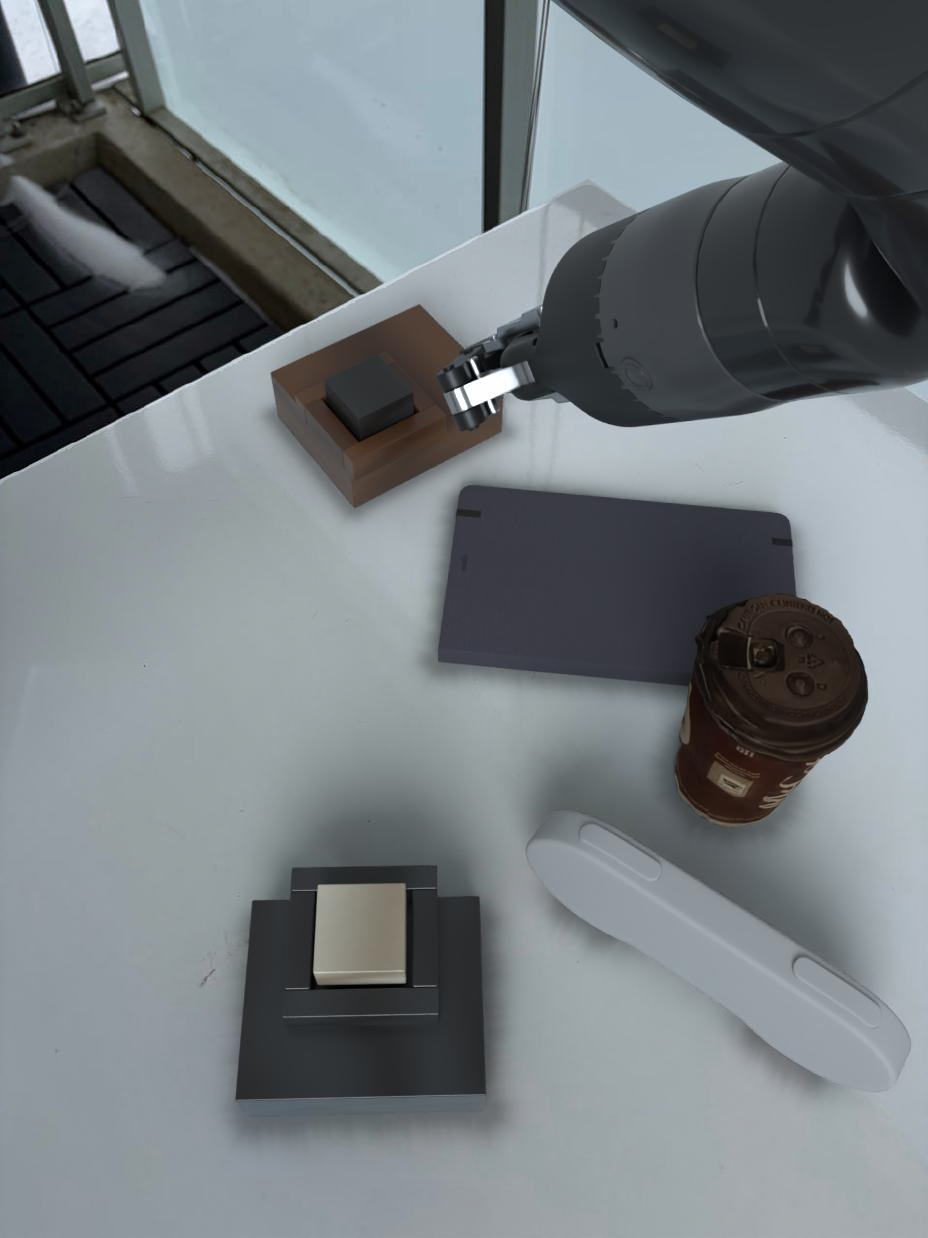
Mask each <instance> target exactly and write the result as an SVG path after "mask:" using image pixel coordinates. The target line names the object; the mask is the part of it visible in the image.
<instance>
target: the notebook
mask: <svg viewBox="0 0 928 1238" xmlns="http://www.w3.org/2000/svg"><path fill="white" fill-rule="evenodd" d="M455 513H456V514H455V523H454V530H453V536H452V545H451V551H450V560H449V567H448V575H447V582H446V589H445V595H444V604H443V611H442V617H441V618H442V619H441V625H440V633H439V641H438V646H437V661H438V662H439V663H446V664H454V665H455V664H456V665H467V666H477V667H487V668H498V669H506V670H507V669H508V670H517V671H528V672H538V673H547V674H548V673H549V674H559V675H570V676H580V677H581V676H582V677H588V678H589V677H590V678H598V679H599V678H601V679H608V680H609V679H610V680H619V681H621V680H622V681H631V682H640V683H650V684H651V683H652V684H661V685H672V686H680V687H681V686H682V687H689V684H690V680H691V676H692V671H693V667H694V661H695V659H696V656H697V644H696V642H695V637H696V636H697V635H698V634H700V632H701V629H702V628H703V625H704V623H705V622H706V621H707V619H706V616H708V615H711V614H713V613H714V612H715V611H717V610H719V609H721V608H723V607H725V606H728V605H730V604H733V603H738V602H742V601H745V600H748V599H750V598H752V597H754V598H757V597H760V595H762V596H764V595H770V596H773V595H775V594H776V593H784V594H789V595H794V596H796V597H797V586H796V575H795V563H794V550H793V548H794V545H793V544H794V543H793V537H792V527H791V522H790V520H789V518H788V517H787V516H786V515H784V513H780V512H775V511H765V510H754V509H753V510H752V509H743V508H731V507H721V506H709V505H699V504H698V505H697V504H689V503H688V504H686V503H675V502H667V501H666V502H664V501H655V500H646V499H645V500H644V499H632V498H620V497H611V496H599V495H589V494H577V493H566V492H554V491H544V490H534V489H533V490H532V489H523V488H511V487H501V486H500V487H499V486H489V485H479V484H472V485H471V484H470V485H469V484H468V485H466V486H464V487H462V489H460V491H459V495H458V501H457V508H456V511H455Z"/></svg>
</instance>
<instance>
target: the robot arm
mask: <svg viewBox="0 0 928 1238" xmlns="http://www.w3.org/2000/svg"><path fill="white" fill-rule="evenodd" d="M550 1H551V2H552V3H554V4H555V5H556V6H557V7H559V8H560V9H562V10H563V11H564V12H565V13H566V14H567V15H569V16H570V17H572V18H573V19H574V20H575V21H576V22H578V23H579V24H580V25H582V27H584V28H585V29H587V30H588V31H589V32H590V33H592V34H593V35H594V36H595V37H597V38H598V39H599V40H601V41H602V42H603V43H605V44H606V45H607V46H608V47H610V48H611V49H612V50H614V51H615V52H617V53H618V54H619V55H621V56H622V58H625V59H626V60H627V61H629V62H630V63H631V64H633V65H634V66H635V67H637V68H638V69H639V70H641V71H642V72H643V73H645V74H647V76H649V77H651V78H652V79H654V80H655V81H657V82H658V83H659V84H661V85H662V86H664V87H665V88H667V89H668V90H669V91H671V92H673V93H674V94H675V95H677V96H678V97H680V98H681V99H682V100H683V101H686V102H687V103H688V104H691V105H692V106H694V107H695V108H697V109H698V110H700V111H702V112H704V113H705V114H706V115H708V116H709V117H712V118H713V119H714V120H716V121H719V123H721V124H722V125H723V126H725V127H727V128H729V130H732V132H735V133H737V134H739V135H740V136H741V137H743V138H745V139H747V140H748V141H749V142H752V144H754V145H756V146H757V147H759V148H761V149H762V150H764V151H766V152H767V153H769V154H771V155H772V156H774V157H776V158H777V159H779V160H780V162H778V163H775V164H772V165H771V166H768V167H766V168H763V169H761V170H758V171H756V172H754V173H750V174H747V175H742V176H736V177H731V178H726V179H721V180H717V181H713V182H709V183H707V184H704V185H701V186H698V187H696V188H693V189H691V190H688V191H686V192H683V193H682V194H679V195H677V196H675V197H672V198H670V199H667V200H665V201H663V202H660V203H658V204H655V205H653V206H650V207H648V208H646V209H643V210H641V211H638V212H637V213H634V214H632V215H629V216H627V217H625V218H622V219H620V220H618V221H615V222H613V223H611V224H609V225H606V226H603V227H601V228H599V229H596V230H593V231H592V232H589V233H588V234H586V235H585V236H583V237H581V238H580V239H579V240H578V241H577V242H575V243H574V244H573V245H572V246H571V247H570V248H568V250H567V251H566V252H565V253H564V254H563V256H562V257H561V259H560V260H559V261H558V262H557V264H556V266H555V268H554V269H553V271H552V273H551V275H550V277H549V280H548V283H547V285H546V288H545V291H544V295H543V300H542V303H541V304H540V305H538V306H535V307H533V308H531V309H529V310H527V311H525V312H523V313H522V314H521V315H520V316H519V317H517V318H515V319H512V320H511V321H509V322H507V323H505V324H502V325H500V326H498V327H497V328H496V333H494V334H492V335H489V336H488V337H485V338H484V339H481V340H480V341H477V342H475V343H473V344H471V345H469V346H467V347H464V349H463V350H461V351H460V356H458V357H456V358H455V359H454V360H453V361H452V362H451V363H449V364H448V365H447V366H446V367H444V368H442V370H441V371H440V372H439V373H438V374H437V375H436V378H437V380H438V383H439V385H440V387H441V390H442V392H444V393H443V395H444V397H445V399H446V402H447V404H448V406H449V408H450V411H451V413H452V415H453V417H454V419H455V422H456V424H457V426H458V429H459V431H460V432H461V431H465V430H469V431H473V430H475V429H477V428H479V427H480V424H481V423H483V422H485V421H486V420H487V419H488V417H489V416H490V415H493V414H495V413H497V412H499V410H500V409H499V407H498V403H499V402H500V401H501V399H502V394H504V395H505V394H511V395H513V397H515V398H516V399H518V400H519V401H525V402H535V401H543V400H550V399H551V400H553V401H554V402H555V403H557V404H565V403H571V404H572V405H574V406H575V407H576V408H577V409H579V410H580V411H582V412H583V413H584V414H586V415H587V416H589V417H591V418H592V419H594V420H596V421H598V422H600V423H603V424H606V425H610V426H613V427H620V428H640V427H648V426H658V425H666V424H667V425H668V424H675V423H676V424H677V423H684V422H695V421H703V420H710V419H711V420H712V419H721V418H729V417H730V418H731V417H738V416H745V415H751V414H755V413H760V412H764V411H768V410H771V409H773V408H777V407H780V406H782V405H786V404H789V403H792V402H798V401H804V400H812V399H820V398H829V397H836V396H838V397H839V396H844V395H852V394H865V393H874V392H881V391H888V390H894V389H901V388H905V387H910V386H912V385H913V386H914V385H917V384H920V383H924V382H926V381H928V0H550Z"/></svg>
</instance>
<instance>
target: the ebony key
mask: <svg viewBox="0 0 928 1238" xmlns="http://www.w3.org/2000/svg"><path fill="white" fill-rule="evenodd" d="M324 383H325V392H326V400H327V404H328V405H329V406H330V407H331V408H332V410H333V411H334V412H335V413H336V414H337V415H338V416H339V418H340V419H341V420H342V421H343V422H344V423H345V424H346V426H347V427H348V428H349V429H350V430H351V431H352V433H353V434H354V435H355V436H356V437H357V438H358V439H359V441H360V442H361V441H363V440H365V439H367V438H369V437H371V436H373V435H375V434H377V433H379V432H381V431H383V430H385V429H387V428H389V427H391V426H393V425H395V424H397V423H399V422H401V421H403V420H405V419H407V418H409V417H411V416H413V415H414V394H413V391H412V390H411V389H410V388H409V387H408V386H407V385H406V383H405V382H404V381H403V380H402V379H401V378H400V377H399V376H398V375H397V374H396V373H395V372H394V371H393V370H392V369H391V367H390V366H389V365H388V364H387V363H386V362H385V361H384V360H383V359H382V358H381V357H380V356H379V355H376V356H374V357H371V358H369V359H367V360H365V361H363V362H361V363H359V364H357V365H354V366H352V367H350V368H348V369H346V370H344V371H342V372H340V373H337V374H335V375H333V376H331V377H329V378H327V379H325V380H324Z"/></svg>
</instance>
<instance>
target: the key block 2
mask: <svg viewBox="0 0 928 1238" xmlns="http://www.w3.org/2000/svg"><path fill="white" fill-rule="evenodd" d="M378 883H405V884H406V895H407V955H406V983H405V984H364V985H318V984H317V981H316V979H315V976H314V973H313V965H314V946H315V927H316V907H317V888H318V885H320V884H378ZM438 888H439V887H438V865H437V864H412V865H354V866H353V865H352V866H351V865H349V866H348V865H347V866H346V865H345V866H344V865H343V866H342V865H341V866H294V867H292V868H291V874H290V888H289V889H290V890H289V891H290V893H289V899H252V901H251V907H250V908H251V909H250V920H249V921H250V922H249V933H248V943H247V944H248V945H247V954H246V955H247V957H246V966H245V967H246V968H245V978H244V979H245V980H244V991H243V1003H242V1014H241V1015H242V1016H241V1027H240V1039H239V1050H238V1062H237V1072H236V1073H237V1074H236V1084H235V1085H236V1086H235V1097H234V1098H235V1099H234V1100H235V1102H236V1103H237V1104H238V1106H239V1107H240V1108H241V1109H242V1110H243V1111H244V1112H245V1114H247V1115H248V1117H251V1118H254V1117H255V1118H256V1117H258V1118H259V1117H292V1116H295V1117H296V1116H297V1117H298V1116H336V1115H337V1116H340V1115H341V1116H342V1115H343V1116H344V1115H345V1116H346V1115H381V1114H382V1115H384V1114H387V1115H388V1114H428V1113H429V1114H430V1113H467V1112H469V1113H470V1112H474V1113H475V1112H483V1111H484V1108H485V1103H486V1097H487V1074H486V1044H485V1043H486V1041H485V1012H484V1011H485V1010H484V983H483V954H482V953H483V952H482V951H483V950H482V925H481V924H482V923H481V922H482V921H481V896H479V895H472V896H471V895H469V896H467V895H466V896H465V895H463V896H438V894H439V890H438Z"/></svg>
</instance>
